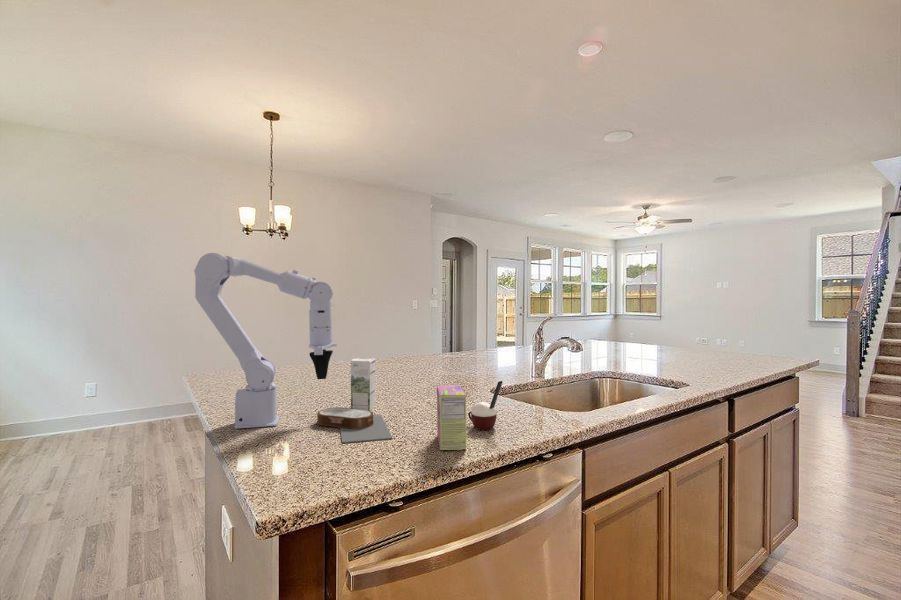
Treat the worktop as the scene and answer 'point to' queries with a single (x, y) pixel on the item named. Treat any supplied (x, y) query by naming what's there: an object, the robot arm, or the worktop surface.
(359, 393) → the syrup box
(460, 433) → the box
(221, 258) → the robot arm
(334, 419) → the tin
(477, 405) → the cocoa
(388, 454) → the worktop surface
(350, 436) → the mat
